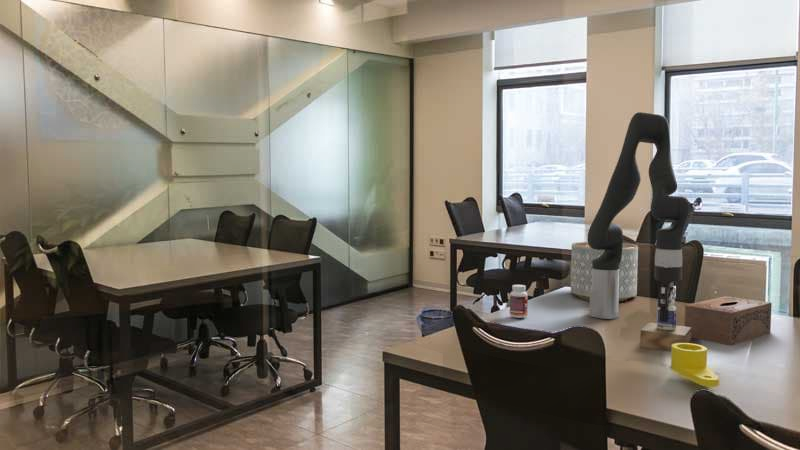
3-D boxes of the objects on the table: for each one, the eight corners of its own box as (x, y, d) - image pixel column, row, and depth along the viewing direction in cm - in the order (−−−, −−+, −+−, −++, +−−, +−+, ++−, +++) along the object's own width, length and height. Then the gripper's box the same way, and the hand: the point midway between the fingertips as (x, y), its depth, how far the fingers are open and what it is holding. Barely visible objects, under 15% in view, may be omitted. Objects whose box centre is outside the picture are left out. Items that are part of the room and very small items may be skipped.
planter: (573, 304, 255) (574, 247, 254) (567, 293, 280) (568, 241, 279) (642, 307, 251) (643, 249, 249) (630, 295, 276) (631, 242, 274)
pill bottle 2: (677, 331, 191) (678, 300, 190) (658, 330, 192) (659, 300, 191) (673, 326, 196) (674, 297, 195) (655, 326, 197) (656, 296, 196)
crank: (666, 364, 175) (666, 342, 174) (698, 365, 174) (698, 343, 174) (694, 386, 157) (694, 361, 156) (729, 387, 156) (730, 362, 156)
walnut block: (640, 347, 192) (640, 330, 192) (648, 338, 202) (649, 322, 202) (684, 352, 186) (684, 335, 185) (690, 343, 196) (691, 327, 195)
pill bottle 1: (528, 318, 231) (528, 287, 230) (510, 318, 231) (511, 287, 230) (526, 314, 237) (526, 284, 236) (508, 314, 237) (509, 284, 236)
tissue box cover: (730, 346, 194) (731, 312, 193) (684, 336, 206) (685, 305, 205) (770, 333, 210) (771, 302, 209) (725, 325, 221) (726, 296, 220)
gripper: (659, 260, 200) (657, 313, 201) (649, 266, 188) (648, 322, 189) (686, 262, 196) (684, 316, 197) (677, 268, 184) (676, 325, 185)
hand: (666, 318), depth 193 cm, fingers open, 8 cm apart
